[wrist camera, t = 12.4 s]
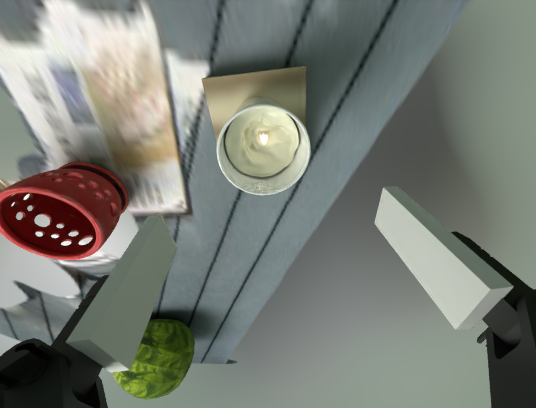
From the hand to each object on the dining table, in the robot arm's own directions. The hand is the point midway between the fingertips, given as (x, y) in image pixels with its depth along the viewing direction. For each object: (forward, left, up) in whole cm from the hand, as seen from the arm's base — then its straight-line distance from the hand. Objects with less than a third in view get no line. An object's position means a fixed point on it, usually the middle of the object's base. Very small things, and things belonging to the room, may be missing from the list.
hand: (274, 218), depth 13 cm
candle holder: (0, 0, -23) cm, 23 cm away
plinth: (0, 0, -26) cm, 26 cm away
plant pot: (+8, -31, -26) cm, 41 cm away
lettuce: (+56, -38, -26) cm, 73 cm away
